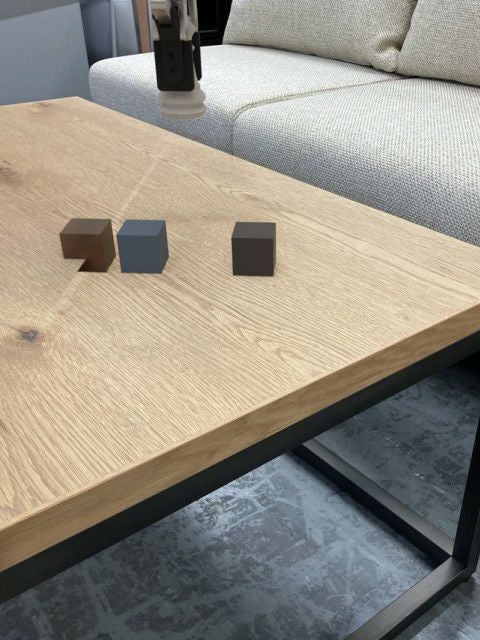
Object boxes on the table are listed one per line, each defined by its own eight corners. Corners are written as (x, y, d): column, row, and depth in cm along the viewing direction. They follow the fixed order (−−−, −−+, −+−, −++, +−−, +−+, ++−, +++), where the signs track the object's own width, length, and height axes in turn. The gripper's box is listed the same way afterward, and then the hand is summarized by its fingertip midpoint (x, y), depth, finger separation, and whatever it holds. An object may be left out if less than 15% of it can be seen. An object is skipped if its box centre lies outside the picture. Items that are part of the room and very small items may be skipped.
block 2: (121, 273, 69) (115, 234, 66) (130, 256, 72) (125, 219, 70) (161, 274, 68) (157, 235, 66) (169, 257, 72) (165, 219, 70)
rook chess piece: (160, 108, 65) (151, 12, 61) (208, 107, 66) (202, 12, 61) (156, 120, 62) (147, 19, 57) (207, 119, 62) (202, 19, 58)
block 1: (66, 271, 69) (58, 233, 67) (78, 254, 72) (71, 217, 70) (106, 272, 69) (100, 234, 66) (116, 255, 72) (111, 218, 70)
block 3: (232, 275, 68) (231, 237, 66) (237, 258, 71) (235, 221, 69) (273, 276, 68) (273, 238, 66) (276, 259, 71) (276, 222, 69)
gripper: (135, -167, 59) (157, 67, 69) (79, -188, 45) (116, 107, 56) (224, -167, 59) (232, 68, 69) (194, -189, 45) (210, 108, 55)
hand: (180, 83), depth 62 cm, fingers closed on rook chess piece, 3 cm apart
